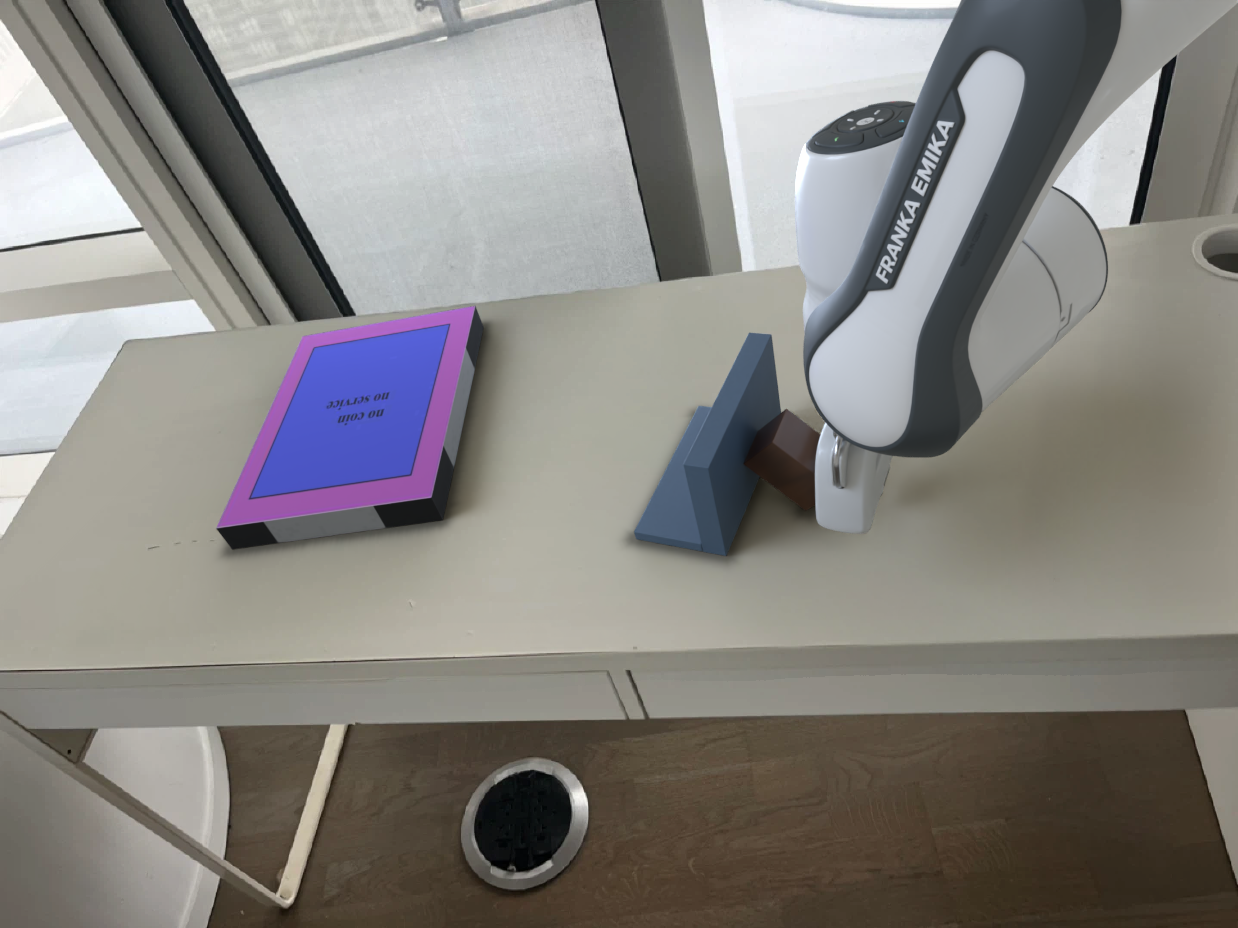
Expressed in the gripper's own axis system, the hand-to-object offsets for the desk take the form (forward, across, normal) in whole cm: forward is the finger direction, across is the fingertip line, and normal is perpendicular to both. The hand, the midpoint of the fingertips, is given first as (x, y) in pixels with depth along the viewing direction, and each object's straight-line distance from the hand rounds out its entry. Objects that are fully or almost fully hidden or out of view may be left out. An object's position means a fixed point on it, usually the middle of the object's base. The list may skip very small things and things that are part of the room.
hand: (874, 482), depth 72 cm
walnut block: (-1, 0, +6) cm, 6 cm away
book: (+3, 0, +52) cm, 52 cm away
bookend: (+2, 0, +14) cm, 14 cm away
